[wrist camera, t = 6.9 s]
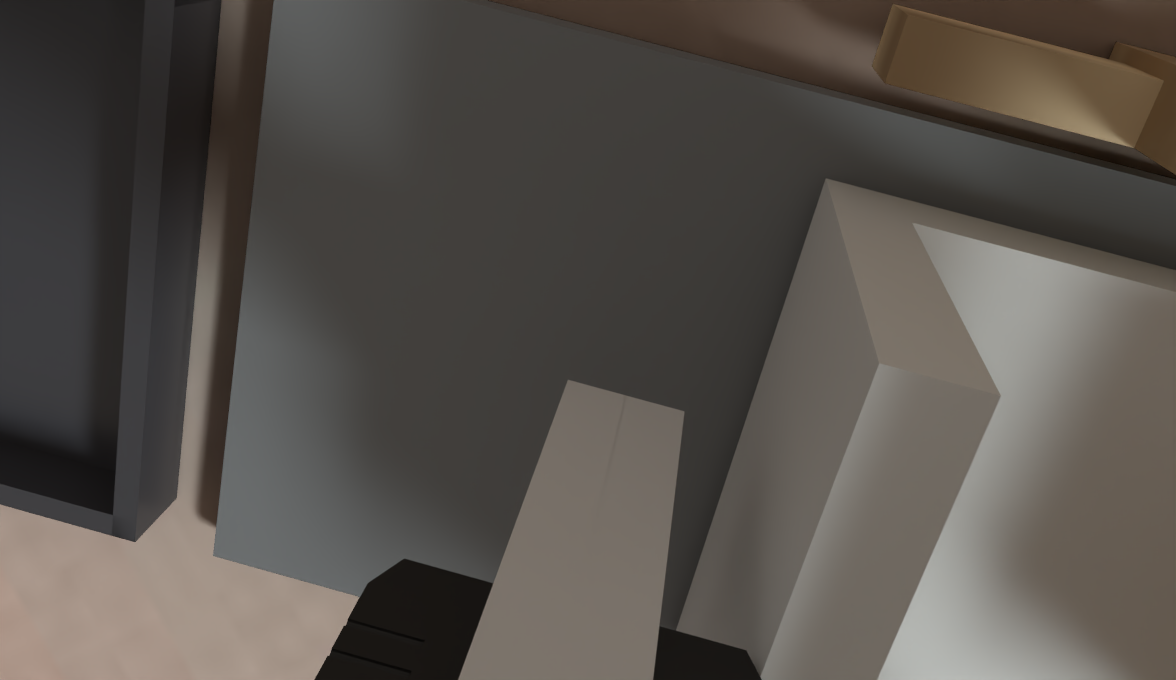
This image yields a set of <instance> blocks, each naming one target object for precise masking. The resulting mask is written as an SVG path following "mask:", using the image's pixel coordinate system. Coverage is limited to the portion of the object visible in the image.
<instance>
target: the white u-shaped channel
mask: <svg viewBox="0 0 1176 680" xmlns="http://www.w3.org/2000/svg"><path fill="white" fill-rule="evenodd" d="M676 631H679V632H683V633H686V634H690V635H693V636H697V637H701V638H704V639H708V640H711V641H715V642H719V643H722V644H726V645H729V646H733V647H737V648H740V649H744V650H746V651H747V652H748V654H749V656H750V658H751V660H752V662H753V664H754V666H755V668H756V670H757V672H758V674H759V676H760V677H761V679H762V680H1176V270H1173V269H1169V268H1165V267H1161V266H1158V265H1154V264H1150V263H1146V262H1142V261H1139V260H1135V259H1131V258H1127V257H1123V256H1119V255H1116V254H1112V253H1108V252H1104V251H1100V250H1097V249H1093V248H1089V247H1085V246H1081V245H1078V244H1074V243H1070V242H1066V241H1062V240H1059V239H1055V238H1051V237H1047V236H1043V235H1040V234H1036V233H1032V232H1028V231H1024V230H1021V229H1017V228H1013V227H1009V226H1005V225H1002V224H998V223H994V222H990V221H986V220H983V219H979V218H975V217H971V216H967V215H964V214H960V213H956V212H952V211H948V210H945V209H941V208H937V207H933V206H929V205H926V204H922V203H918V202H914V201H910V200H907V199H903V198H899V197H895V196H891V195H888V194H884V193H880V192H876V191H872V190H869V189H865V188H861V187H857V186H853V185H850V184H846V183H842V182H838V181H834V180H831V179H827V178H826V179H825V182H824V185H823V188H822V191H821V194H820V197H819V200H818V203H817V206H816V209H815V212H814V215H813V218H812V221H811V224H810V227H809V230H808V233H807V236H806V240H805V243H804V246H803V249H802V252H801V255H800V258H799V261H798V264H797V267H796V270H795V273H794V276H793V279H792V282H791V285H790V288H789V291H788V294H787V297H786V300H785V303H784V306H783V309H782V312H781V315H780V318H779V321H778V324H777V327H776V330H775V333H774V336H773V339H772V342H771V345H770V348H769V351H768V354H767V357H766V360H765V363H764V366H763V369H762V372H761V375H760V378H759V381H758V384H757V387H756V390H755V393H754V396H753V399H752V402H751V405H750V408H749V412H748V415H747V418H746V421H745V424H744V427H743V430H742V433H741V436H740V439H739V442H738V445H737V448H736V451H735V454H734V457H733V460H732V463H731V466H730V469H729V472H728V475H727V478H726V481H725V484H724V487H723V490H722V493H721V496H720V499H719V502H718V505H717V508H716V511H715V514H714V517H713V520H712V523H711V526H710V529H709V532H708V535H707V538H706V541H705V544H704V547H703V550H702V553H701V556H700V559H699V562H698V565H697V568H696V571H695V574H694V577H693V581H692V584H691V587H690V590H689V593H688V596H687V599H686V602H685V605H684V608H683V611H682V614H681V617H680V620H679V623H678V626H677V629H676Z"/></svg>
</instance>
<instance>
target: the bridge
mask: <svg viewBox="0 0 1176 680" xmlns="http://www.w3.org/2000/svg"><path fill="white" fill-rule="evenodd" d="M872 67H873V68H874V70H875V71H876V72H877V74H878V75H879V76H880V78H881V79H882V80H883V82H884V83H885V84H889V85H893V86H897V87H901V88H905V89H908V90H912V91H916V92H920V93H924V94H928V95H932V96H935V97H939V98H943V99H947V100H951V101H955V102H959V103H962V104H966V105H970V106H974V107H978V108H982V109H985V110H989V111H993V112H997V113H1001V114H1005V115H1009V116H1012V117H1016V118H1020V119H1024V120H1028V121H1032V122H1036V123H1039V124H1043V125H1047V126H1051V127H1055V128H1059V129H1063V130H1066V131H1070V132H1074V133H1078V134H1082V135H1086V136H1089V137H1093V138H1097V139H1101V140H1105V141H1109V142H1113V143H1116V144H1120V145H1124V146H1128V147H1132V148H1135V149H1136V150H1138V151H1139V152H1141V153H1142V154H1144V155H1146V156H1147V157H1149V158H1150V159H1152V160H1153V161H1155V162H1156V163H1158V164H1160V165H1161V166H1163V167H1164V168H1166V169H1167V170H1169V171H1170V172H1172V173H1173V174H1175V175H1176V57H1174V56H1170V55H1166V54H1162V53H1158V52H1154V51H1151V50H1147V49H1143V48H1139V47H1135V46H1131V45H1127V44H1123V43H1119V42H1116V43H1115V46H1114V48H1113V50H1112V53H1111V55H1110V57H1109V59H1105V58H1102V57H1098V56H1094V55H1090V54H1086V53H1082V52H1078V51H1074V50H1070V49H1067V48H1063V47H1059V46H1055V45H1051V44H1047V43H1043V42H1039V41H1035V40H1031V39H1028V38H1024V37H1020V36H1016V35H1012V34H1008V33H1004V32H1000V31H996V30H993V29H989V28H985V27H981V26H977V25H973V24H969V23H965V22H961V21H958V20H954V19H950V18H946V17H942V16H938V15H934V14H930V13H926V12H923V11H919V10H915V9H911V8H907V7H903V6H899V5H895V4H892V7H891V10H890V13H889V16H888V19H887V22H886V25H885V28H884V31H883V34H882V37H881V40H880V43H879V46H878V49H877V52H876V55H875V58H874V61H873V64H872Z"/></svg>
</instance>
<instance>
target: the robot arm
mask: <svg viewBox="0 0 1176 680" xmlns="http://www.w3.org/2000/svg"><path fill="white" fill-rule="evenodd" d="M683 420H684V411H681V410H677V409H674V408H670V407H666V406H663V405H659V404H655V403H652V402H648V401H644V400H641V399H637V398H633V397H630V396H626V395H622V394H619V393H615V392H611V391H608V390H604V389H600V388H597V387H593V386H589V385H585V384H582V383H578V382H574V381H571V380H568V381H567V384H566V387H565V389H564V392H563V395H562V397H561V400H560V403H559V406H558V408H557V411H556V414H555V417H554V419H553V422H552V425H551V427H550V430H549V433H548V436H547V438H546V441H545V444H544V447H543V449H542V452H541V455H540V458H539V460H538V463H537V466H536V468H535V471H534V474H533V477H532V479H531V482H530V485H529V488H528V490H527V493H526V496H525V499H524V501H523V504H522V507H521V509H520V512H519V515H518V518H517V520H516V523H515V526H514V529H513V531H512V534H511V537H510V539H509V542H508V545H507V548H506V550H505V553H504V556H503V559H502V561H501V564H500V567H499V570H498V572H497V575H496V578H495V580H494V583H491V582H487V581H484V580H480V579H476V578H473V577H469V576H466V575H462V574H458V573H455V572H451V571H448V570H444V569H440V568H437V567H433V566H430V565H426V564H423V563H419V562H415V561H412V560H408V559H405V558H404V559H403V560H401V561H400V562H398V563H397V564H395V565H394V566H392V567H391V568H389V569H388V570H386V571H385V572H383V573H382V574H380V575H379V576H377V577H376V578H374V579H373V580H372V581H370V582H369V583H367V585H366V587H365V589H364V591H363V593H362V594H361V596H360V598H359V600H358V602H357V603H356V605H355V607H354V609H353V611H352V613H351V614H350V616H349V618H348V621H347V624H346V626H344V627H343V629H342V631H341V633H340V634H339V636H338V638H337V640H336V642H335V644H334V645H333V647H332V650H331V653H330V656H327V658H326V660H325V662H324V664H323V665H322V667H321V669H320V671H319V673H318V674H317V676H316V678H315V680H762V679H761V677H760V676H759V674H758V672H757V670H756V668H755V666H754V664H753V662H752V660H751V658H750V656H749V654H748V652H747V651H746V650H744V649H740V648H737V647H733V646H729V645H726V644H722V643H719V642H715V641H711V640H708V639H704V638H701V637H697V636H693V635H690V634H686V633H683V632H679V631H676V630H672V629H668V628H665V627H661V626H659V625H660V616H661V608H662V599H663V590H664V582H665V573H666V565H667V556H668V548H669V539H670V531H671V522H672V514H673V505H674V497H675V488H676V480H677V471H678V462H679V454H680V445H681V437H682V428H683Z"/></svg>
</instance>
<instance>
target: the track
mask: <svg viewBox="0 0 1176 680" xmlns="http://www.w3.org/2000/svg"><path fill="white" fill-rule="evenodd" d="M826 178H827V179H831V180H834V181H838V182H842V183H846V184H850V185H853V186H857V187H861V188H865V189H869V190H872V191H876V192H880V193H884V194H888V195H891V196H895V197H899V198H903V199H907V200H910V201H914V202H918V203H922V204H926V205H929V206H933V207H937V208H941V209H945V210H948V211H952V212H956V213H960V214H964V215H967V216H971V217H975V218H979V219H983V220H986V221H990V222H994V223H998V224H1002V225H1005V226H1009V227H1013V228H1017V229H1021V230H1024V231H1028V232H1032V233H1036V234H1040V235H1043V236H1047V237H1051V238H1055V239H1059V240H1062V241H1066V242H1070V243H1074V244H1078V245H1081V246H1085V247H1089V248H1093V249H1097V250H1100V251H1104V252H1108V253H1112V254H1116V255H1119V256H1123V257H1127V258H1131V259H1135V260H1139V261H1142V262H1146V263H1150V264H1154V265H1158V266H1161V267H1165V268H1169V269H1173V270H1176V179H1172V178H1168V177H1164V176H1160V175H1157V174H1153V173H1149V172H1145V171H1141V170H1137V169H1134V168H1130V167H1126V166H1122V165H1118V164H1114V163H1110V162H1107V161H1103V160H1099V159H1095V158H1091V157H1087V156H1084V155H1080V154H1076V153H1072V152H1068V151H1064V150H1061V149H1057V148H1053V147H1049V146H1045V145H1041V144H1037V143H1034V142H1030V141H1026V140H1022V139H1018V138H1014V137H1011V136H1007V135H1003V134H999V133H995V132H991V131H987V130H984V129H980V128H976V127H972V126H968V125H964V124H961V123H957V122H953V121H949V120H945V119H941V118H938V117H934V116H930V115H926V114H922V113H918V112H914V111H911V110H907V109H903V108H899V107H895V106H891V105H888V104H884V103H880V102H876V101H872V100H868V99H865V98H861V97H857V96H853V95H849V94H845V93H841V92H838V91H834V90H830V89H826V88H822V87H818V86H815V85H811V84H807V83H803V82H799V81H795V80H792V79H788V78H784V77H780V76H776V75H772V74H768V73H765V72H761V71H757V70H753V69H749V68H745V67H742V66H738V65H734V64H730V63H726V62H722V61H718V60H715V59H711V58H707V57H703V56H699V55H695V54H692V53H688V52H684V51H680V50H676V49H672V48H669V47H665V46H661V45H657V44H653V43H649V42H645V41H642V40H638V39H634V38H630V37H626V36H622V35H619V34H615V33H611V32H607V31H603V30H599V29H596V28H592V27H588V26H584V25H580V24H576V23H572V22H569V21H565V20H561V19H557V18H553V17H549V16H546V15H542V14H538V13H534V12H530V11H526V10H523V9H519V8H515V7H511V6H507V5H503V4H499V3H496V2H492V1H488V0H274V3H273V12H272V21H271V30H270V40H269V49H268V58H267V67H266V76H265V85H264V95H263V104H262V113H261V122H260V131H259V140H258V149H257V159H256V168H255V177H254V186H253V195H252V204H251V214H250V223H249V232H248V241H247V250H246V259H245V269H244V278H243V287H242V296H241V305H240V314H239V324H238V333H237V342H236V351H235V360H234V369H233V379H232V388H231V397H230V406H229V415H228V424H227V434H226V443H225V452H224V461H223V470H222V479H221V488H220V498H219V507H218V516H217V525H216V534H215V543H214V553H213V556H216V557H219V558H223V559H226V560H230V561H233V562H237V563H241V564H244V565H248V566H251V567H255V568H258V569H262V570H266V571H269V572H273V573H276V574H280V575H283V576H287V577H291V578H294V579H298V580H301V581H305V582H308V583H312V584H316V585H319V586H323V587H326V588H330V589H333V590H337V591H341V592H344V593H348V594H351V595H355V596H358V597H360V596H361V594H362V593H363V591H364V589H365V587H366V585H367V583H369V582H370V581H372V580H373V579H374V578H376V577H377V576H379V575H380V574H382V573H383V572H385V571H386V570H388V569H389V568H391V567H392V566H394V565H395V564H397V563H398V562H400V561H401V560H403V559H404V558H405V559H408V560H412V561H415V562H419V563H423V564H426V565H430V566H433V567H437V568H440V569H444V570H448V571H451V572H455V573H458V574H462V575H466V576H469V577H473V578H476V579H480V580H484V581H487V582H491V583H494V580H495V578H496V575H497V572H498V570H499V567H500V564H501V561H502V559H503V556H504V553H505V550H506V548H507V545H508V542H509V539H510V537H511V534H512V531H513V529H514V526H515V523H516V520H517V518H518V515H519V512H520V509H521V507H522V504H523V501H524V499H525V496H526V493H527V490H528V488H529V485H530V482H531V479H532V477H533V474H534V471H535V468H536V466H537V463H538V460H539V458H540V455H541V452H542V449H543V447H544V444H545V441H546V438H547V436H548V433H549V430H550V427H551V425H552V422H553V419H554V417H555V414H556V411H557V408H558V406H559V403H560V400H561V397H562V395H563V392H564V389H565V387H566V384H567V381H568V380H571V381H574V382H578V383H582V384H585V385H589V386H593V387H597V388H600V389H604V390H608V391H611V392H615V393H619V394H622V395H626V396H630V397H633V398H637V399H641V400H644V401H648V402H652V403H655V404H659V405H663V406H666V407H670V408H674V409H677V410H681V411H684V420H683V428H682V437H681V445H680V454H679V462H678V471H677V480H676V488H675V497H674V505H673V514H672V522H671V531H670V539H669V548H668V556H667V565H666V573H665V582H664V590H663V599H662V608H661V616H660V625H659V626H661V627H665V628H668V629H672V630H676V629H677V626H678V623H679V620H680V617H681V614H682V611H683V608H684V605H685V602H686V599H687V596H688V593H689V590H690V587H691V584H692V581H693V577H694V574H695V571H696V568H697V565H698V562H699V559H700V556H701V553H702V550H703V547H704V544H705V541H706V538H707V535H708V532H709V529H710V526H711V523H712V520H713V517H714V514H715V511H716V508H717V505H718V502H719V499H720V496H721V493H722V490H723V487H724V484H725V481H726V478H727V475H728V472H729V469H730V466H731V463H732V460H733V457H734V454H735V451H736V448H737V445H738V442H739V439H740V436H741V433H742V430H743V427H744V424H745V421H746V418H747V415H748V412H749V408H750V405H751V402H752V399H753V396H754V393H755V390H756V387H757V384H758V381H759V378H760V375H761V372H762V369H763V366H764V363H765V360H766V357H767V354H768V351H769V348H770V345H771V342H772V339H773V336H774V333H775V330H776V327H777V324H778V321H779V318H780V315H781V312H782V309H783V306H784V303H785V300H786V297H787V294H788V291H789V288H790V285H791V282H792V279H793V276H794V273H795V270H796V267H797V264H798V261H799V258H800V255H801V252H802V249H803V246H804V243H805V240H806V236H807V233H808V230H809V227H810V224H811V221H812V218H813V215H814V212H815V209H816V206H817V203H818V200H819V197H820V194H821V191H822V188H823V185H824V182H825V179H826Z"/></svg>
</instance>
